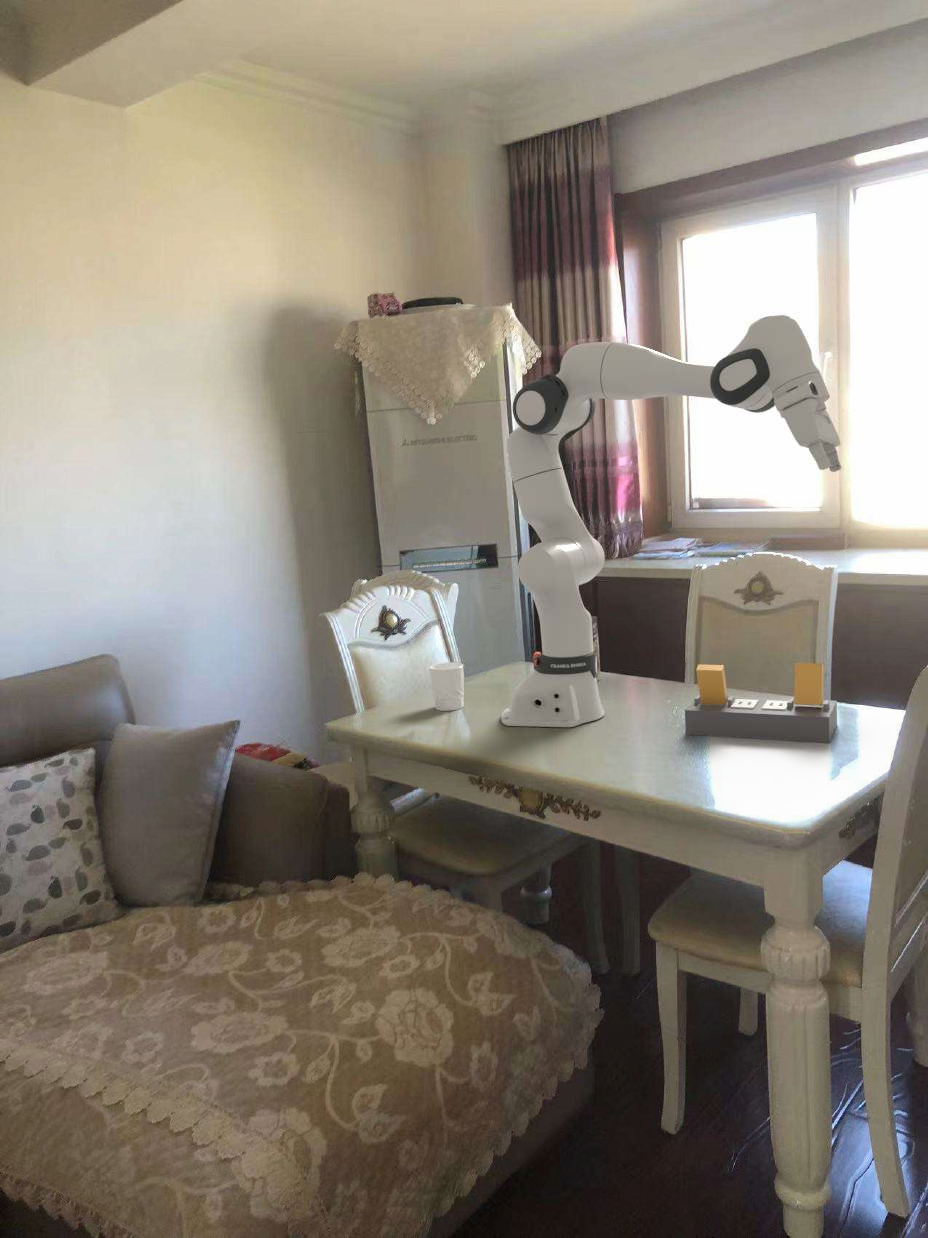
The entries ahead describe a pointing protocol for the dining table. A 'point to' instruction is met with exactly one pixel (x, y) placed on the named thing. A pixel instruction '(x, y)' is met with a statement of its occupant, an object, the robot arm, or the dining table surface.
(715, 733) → the power box
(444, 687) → the white cup
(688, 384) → the robot arm
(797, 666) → the switch
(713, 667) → the switch
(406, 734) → the dining table surface
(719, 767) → the dining table surface
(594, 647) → the coffee box
